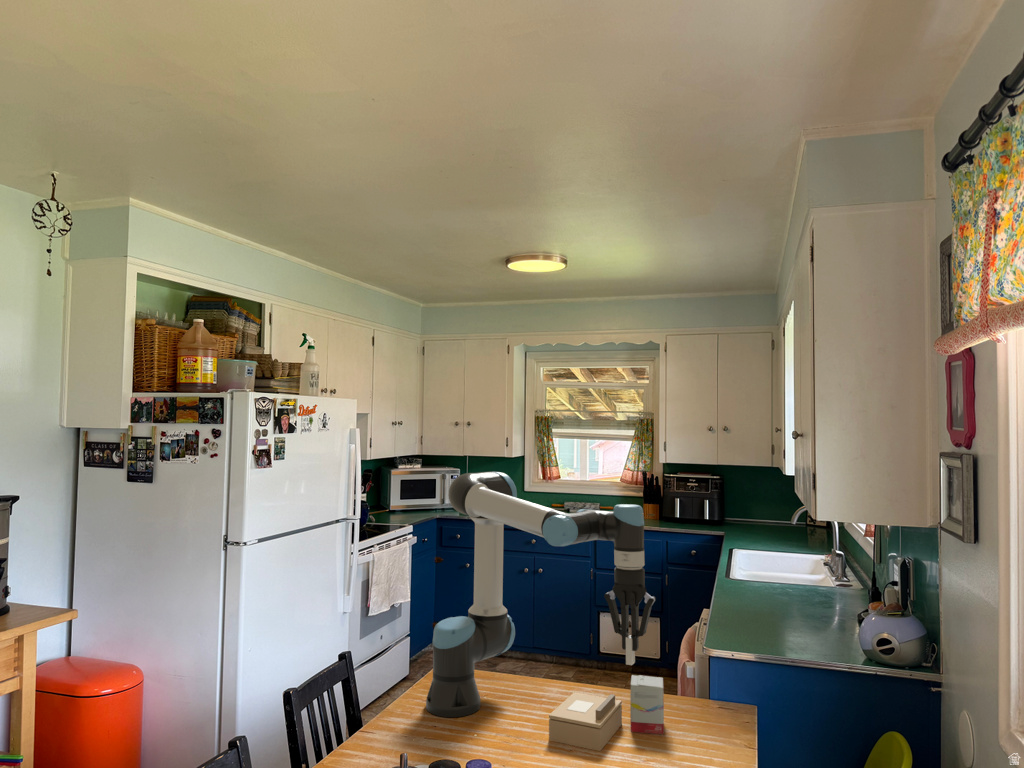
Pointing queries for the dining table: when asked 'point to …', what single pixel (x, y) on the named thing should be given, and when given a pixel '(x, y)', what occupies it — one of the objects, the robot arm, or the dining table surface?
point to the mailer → (585, 732)
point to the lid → (586, 709)
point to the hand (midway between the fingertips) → (630, 663)
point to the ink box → (647, 704)
